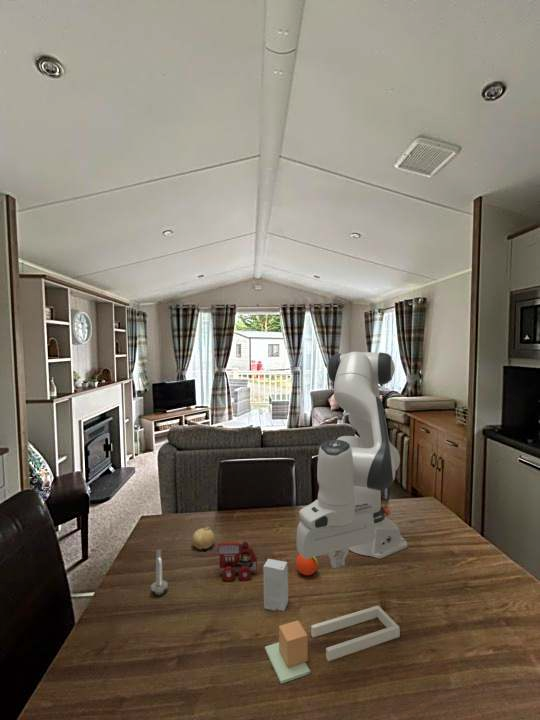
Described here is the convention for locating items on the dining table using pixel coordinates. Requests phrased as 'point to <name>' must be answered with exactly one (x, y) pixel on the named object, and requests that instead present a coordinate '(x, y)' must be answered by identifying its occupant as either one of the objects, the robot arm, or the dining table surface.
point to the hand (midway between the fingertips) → (337, 565)
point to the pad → (281, 668)
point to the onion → (203, 538)
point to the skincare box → (275, 584)
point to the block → (293, 643)
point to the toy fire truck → (236, 560)
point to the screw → (159, 576)
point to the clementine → (306, 565)
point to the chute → (360, 642)
